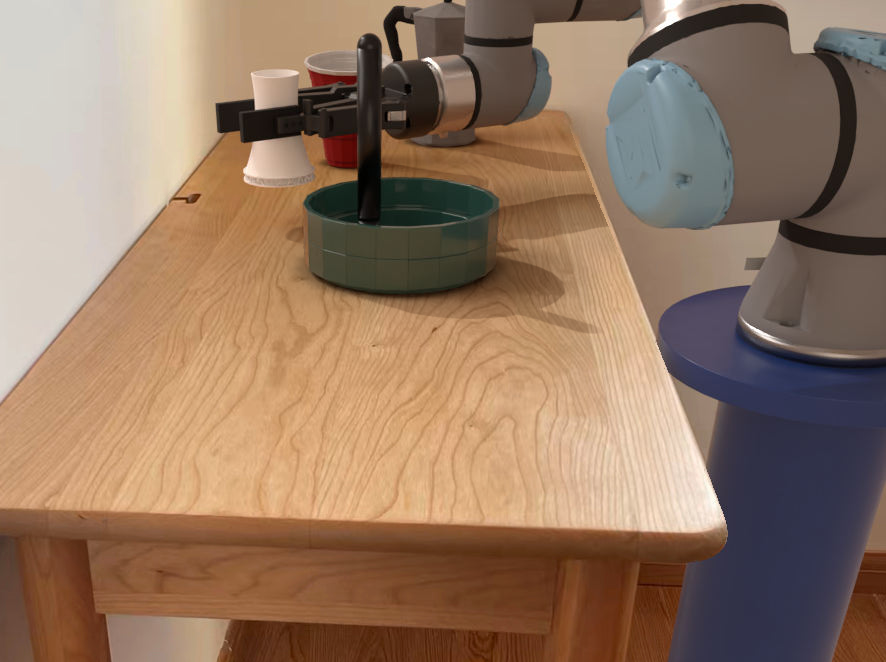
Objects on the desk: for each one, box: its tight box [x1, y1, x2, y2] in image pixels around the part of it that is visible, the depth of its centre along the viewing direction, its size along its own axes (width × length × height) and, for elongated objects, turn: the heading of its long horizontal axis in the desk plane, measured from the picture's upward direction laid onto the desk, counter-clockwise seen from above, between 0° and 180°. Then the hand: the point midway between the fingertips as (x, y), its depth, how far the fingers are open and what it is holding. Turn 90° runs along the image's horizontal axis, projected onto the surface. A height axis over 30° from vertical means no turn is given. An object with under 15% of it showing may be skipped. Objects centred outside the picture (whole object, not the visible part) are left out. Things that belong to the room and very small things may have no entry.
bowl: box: [302, 176, 501, 295], centre depth 107 cm, size 18×18×6 cm
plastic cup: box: [303, 49, 393, 169], centre depth 140 cm, size 11×11×12 cm
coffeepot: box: [382, 0, 477, 148], centre depth 149 cm, size 15×9×18 cm, turn 66°
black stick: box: [356, 32, 383, 226], centre depth 103 cm, size 4×4×19 cm
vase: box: [242, 68, 316, 189], centre depth 116 cm, size 8×8×10 cm
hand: (229, 122), depth 113 cm, fingers closed on vase, 5 cm apart
